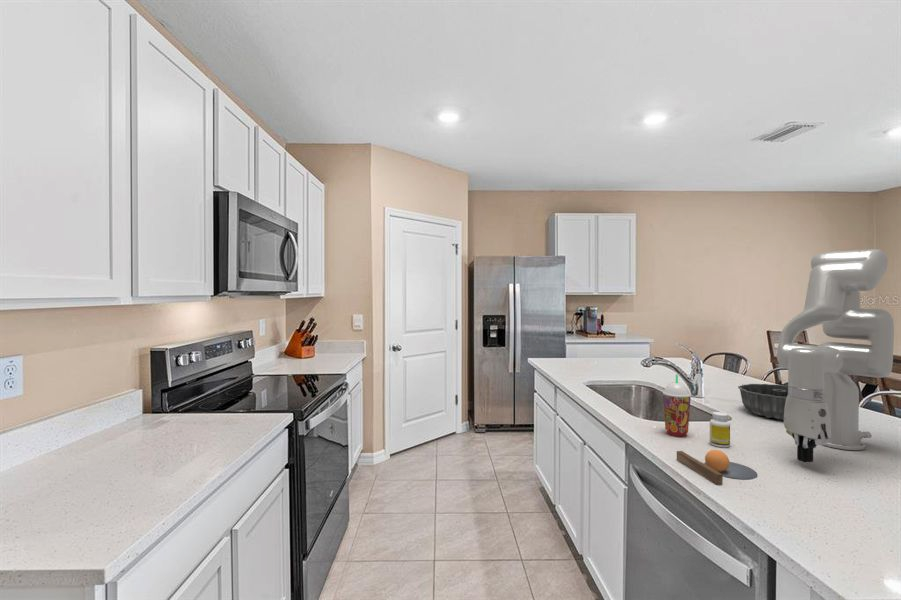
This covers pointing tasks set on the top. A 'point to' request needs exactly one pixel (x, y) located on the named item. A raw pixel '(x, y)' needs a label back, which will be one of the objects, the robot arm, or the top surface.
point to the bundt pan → (765, 399)
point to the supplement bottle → (720, 430)
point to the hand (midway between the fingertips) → (805, 460)
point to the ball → (717, 460)
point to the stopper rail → (700, 468)
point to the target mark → (738, 471)
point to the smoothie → (676, 409)
